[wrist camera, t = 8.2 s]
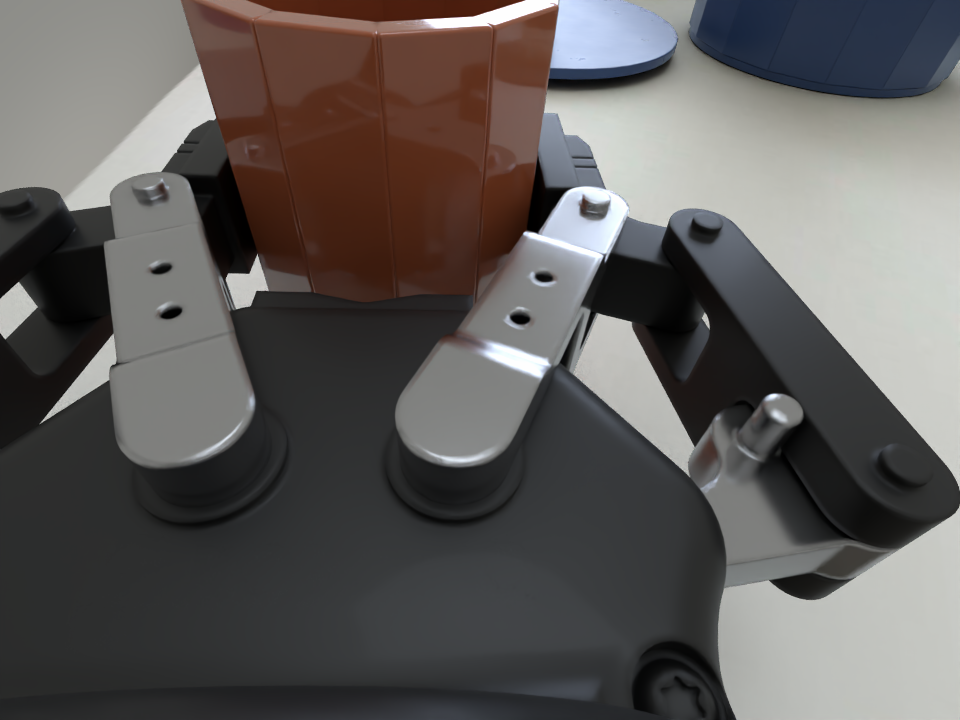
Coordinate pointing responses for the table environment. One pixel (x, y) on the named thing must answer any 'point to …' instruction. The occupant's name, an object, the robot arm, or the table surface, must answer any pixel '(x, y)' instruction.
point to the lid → (608, 40)
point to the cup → (379, 135)
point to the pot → (834, 42)
